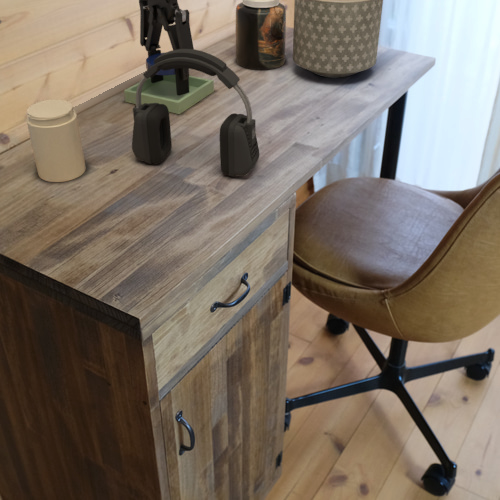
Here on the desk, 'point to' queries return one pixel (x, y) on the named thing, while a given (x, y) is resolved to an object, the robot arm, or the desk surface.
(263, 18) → the jar
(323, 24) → the planter
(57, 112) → the cream jar
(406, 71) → the desk surface
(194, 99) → the tray
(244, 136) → the headphones
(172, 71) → the lid
